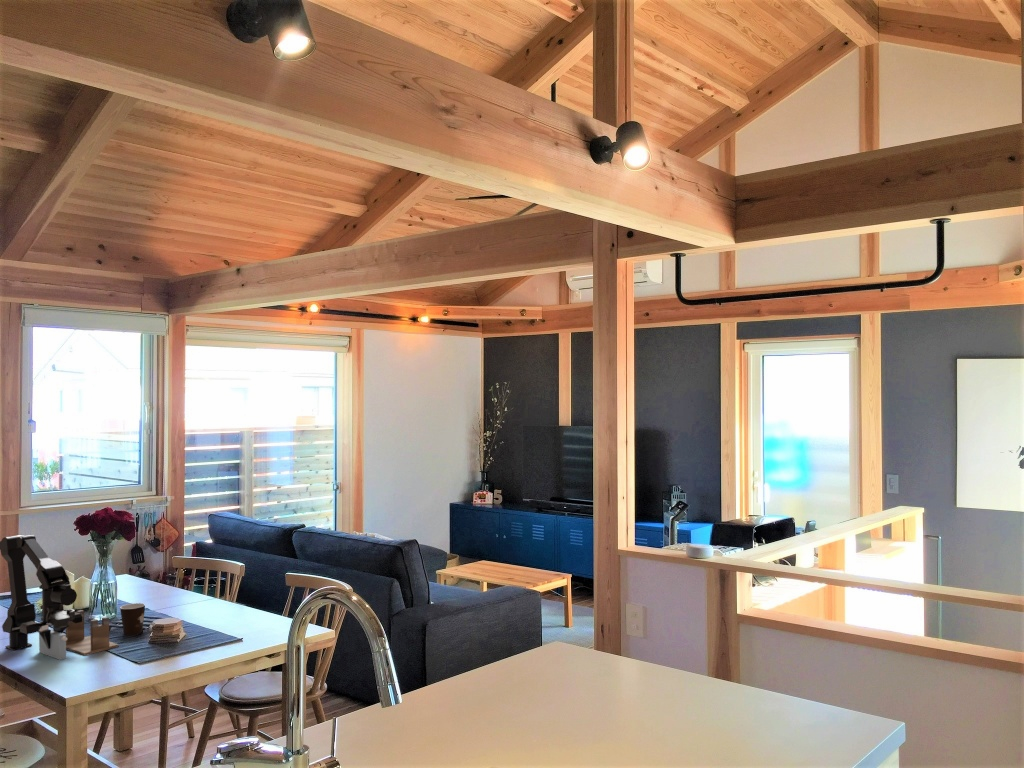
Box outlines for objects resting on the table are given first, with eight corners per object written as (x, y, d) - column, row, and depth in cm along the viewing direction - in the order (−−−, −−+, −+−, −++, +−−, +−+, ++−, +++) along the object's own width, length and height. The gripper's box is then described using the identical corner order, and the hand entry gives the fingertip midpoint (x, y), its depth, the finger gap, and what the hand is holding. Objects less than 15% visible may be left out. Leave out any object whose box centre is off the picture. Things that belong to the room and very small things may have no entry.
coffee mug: (129, 637, 307) (129, 610, 307) (115, 634, 311) (115, 607, 312) (157, 629, 317) (157, 603, 317) (143, 626, 321) (143, 600, 322)
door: (36, 651, 291) (36, 628, 292) (42, 650, 293) (42, 627, 293) (62, 660, 280) (62, 636, 280) (68, 659, 282) (68, 635, 282)
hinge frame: (56, 646, 297) (56, 615, 298) (90, 637, 307) (89, 608, 307) (84, 655, 285) (84, 623, 286) (118, 646, 295) (118, 615, 295)
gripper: (34, 611, 275) (34, 658, 274) (90, 599, 290) (91, 644, 289) (18, 606, 281) (19, 653, 281) (74, 595, 296) (75, 639, 296)
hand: (52, 647), depth 287 cm, fingers closed on door, 2 cm apart
